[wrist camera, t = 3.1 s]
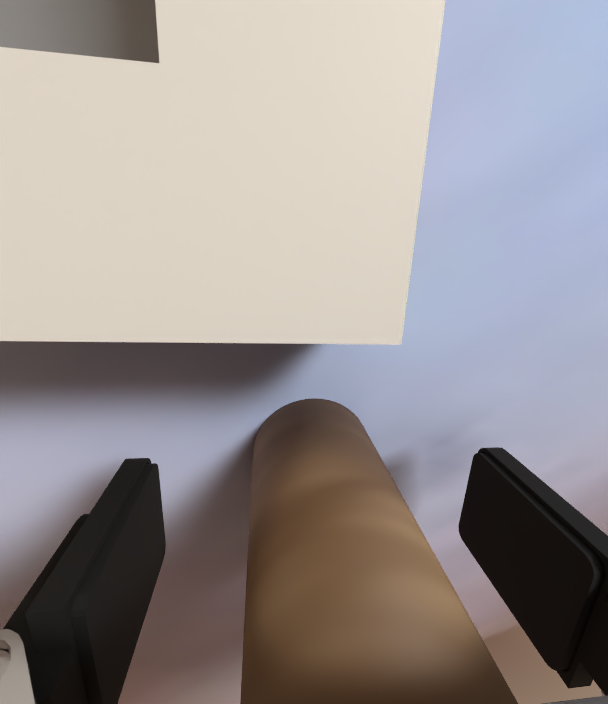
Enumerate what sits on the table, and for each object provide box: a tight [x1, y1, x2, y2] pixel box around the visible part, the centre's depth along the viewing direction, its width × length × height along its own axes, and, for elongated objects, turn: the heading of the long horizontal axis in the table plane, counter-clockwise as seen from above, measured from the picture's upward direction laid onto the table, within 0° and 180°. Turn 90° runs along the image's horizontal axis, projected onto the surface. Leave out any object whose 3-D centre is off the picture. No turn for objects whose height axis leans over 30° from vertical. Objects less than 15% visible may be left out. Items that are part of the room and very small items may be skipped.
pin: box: [240, 399, 518, 704], centre depth 8 cm, size 4×4×8 cm
